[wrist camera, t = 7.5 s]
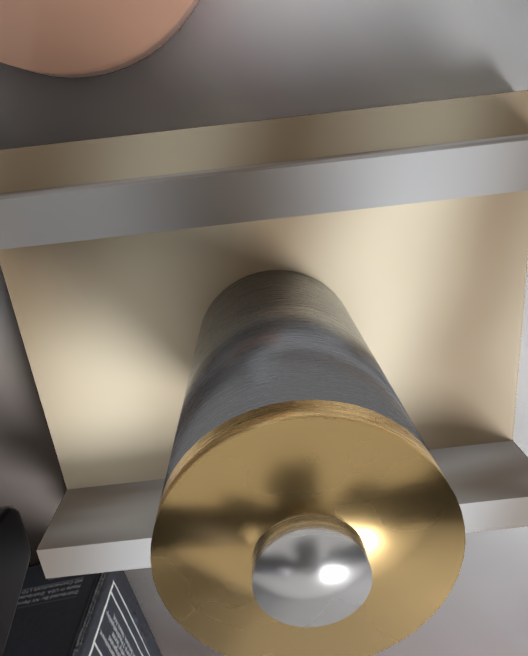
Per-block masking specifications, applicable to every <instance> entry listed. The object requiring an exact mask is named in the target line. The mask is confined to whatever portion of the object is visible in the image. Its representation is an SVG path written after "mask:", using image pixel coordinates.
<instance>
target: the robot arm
mask: <svg viewBox="0 0 528 656" xmlns="http://www.w3.org/2000/svg"><path fill="white" fill-rule="evenodd" d="M30 554H31V548H30V542H29V539H28V537H27V534H26V531H25V528H24V525H23V522H22V519H21V516H20V514H19V511H18V510H17V509H16V508H15V507H13V506H6V507H0V656H2V655H3V652H4V648H5V645H6V642H7V639H8V635H9V632H10V628H11V625H12V621H13V618H14V614H15V610H16V607H17V603H18V600H19V596H20V593H21V589H22V586H23V582H24V578H25V575H26V571H27V568H28V564H29V560H30Z"/></svg>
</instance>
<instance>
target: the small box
mask: <svg viewBox="0 0 528 656" xmlns="http://www.w3.org/2000/svg"><path fill="white" fill-rule="evenodd" d="M2 656H162V655H161V653H160V650H159V648H158V646H157V644H156V641H155V639H154V637H153V635H152V633H151V630H150V628H149V626H148V623H147V621H146V619H145V617H144V615H143V613H142V610H141V608H140V606H139V604H138V602H137V600H136V597H135V595H134V593H133V590H132V588H131V586H130V584H129V582H128V580H127V577H126V575H125V574H124V571H123V570H121V571H112V572H103V573H94V574H84V575H75V576H66V577H57V578H48V579H46V577H45V575H44V572H43V569H42V566H41V564H40V565H35V566H30V567H28V568H27V571H26V575H25V578H24V582H23V586H22V589H21V593H20V596H19V600H18V603H17V607H16V610H15V614H14V618H13V621H12V625H11V628H10V632H9V635H8V639H7V642H6V645H5V648H4V652H3V655H2Z"/></svg>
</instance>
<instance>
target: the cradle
mask: <svg viewBox="0 0 528 656" xmlns="http://www.w3.org/2000/svg"><path fill="white" fill-rule="evenodd" d="M527 260H528V90H524V91H515V92H506V93H498V94H489V95H480V96H471V97H462V98H453V99H445V100H436V101H427V102H418V103H409V104H400V105H392V106H383V107H374V108H365V109H356V110H347V111H339V112H330V113H321V114H312V115H303V116H294V117H286V118H277V119H268V120H259V121H250V122H241V123H233V124H224V125H215V126H206V127H197V128H188V129H179V130H171V131H162V132H153V133H144V134H135V135H126V136H118V137H109V138H100V139H91V140H82V141H73V142H65V143H56V144H47V145H38V146H29V147H20V148H12V149H3V150H0V265H1V269H2V272H3V275H4V279H5V282H6V285H7V289H8V292H9V296H10V299H11V302H12V306H13V309H14V312H15V316H16V319H17V323H18V326H19V329H20V333H21V336H22V339H23V343H24V346H25V349H26V353H27V356H28V360H29V363H30V366H31V370H32V373H33V376H34V380H35V383H36V387H37V390H38V393H39V397H40V400H41V403H42V407H43V410H44V413H45V417H46V420H47V424H48V427H49V430H50V434H51V437H52V440H53V444H54V447H55V450H56V454H57V457H58V461H59V464H60V467H61V471H62V474H63V477H64V481H65V484H66V488H67V491H66V493H65V495H64V497H63V499H62V501H61V503H60V504H59V506H58V508H57V510H56V512H55V514H54V516H53V518H52V520H51V522H50V524H49V526H48V528H47V530H46V532H45V534H44V536H43V538H42V540H41V542H40V544H39V546H38V548H37V550H36V551H37V554H38V557H39V560H40V563H41V566H42V569H43V572H44V575H45V577H46V579H48V578H57V577H66V576H75V575H84V574H94V573H103V572H112V571H121V570H130V569H140V568H149V567H151V562H150V555H151V540H152V535H153V530H154V525H155V521H156V516H157V512H158V508H159V504H160V499H161V495H162V491H163V486H164V482H165V478H166V473H167V469H168V465H169V461H170V456H171V452H172V448H173V443H174V439H175V435H176V431H177V426H178V422H179V418H180V413H181V409H182V405H183V401H184V396H185V392H186V388H187V383H188V379H189V375H190V371H191V366H192V362H193V358H194V353H195V349H196V345H197V341H198V336H199V332H200V328H201V324H202V321H203V318H204V316H205V314H206V312H207V310H208V308H209V306H210V305H211V304H212V302H213V301H214V299H215V298H216V297H217V296H218V295H219V294H220V293H221V292H222V291H223V290H224V289H226V288H227V287H228V286H229V285H231V284H232V283H234V282H235V281H237V280H239V279H241V278H243V277H245V276H247V275H250V274H254V273H257V272H262V271H267V270H289V271H294V272H299V273H302V274H305V275H308V276H311V277H313V278H314V279H316V280H318V281H320V282H322V283H323V284H324V285H326V286H327V287H328V288H330V289H331V290H332V291H333V292H334V293H335V294H336V295H337V297H338V298H339V299H340V300H341V301H342V303H343V305H344V306H345V308H346V310H347V311H348V313H349V315H350V317H351V318H352V320H353V322H354V323H355V325H356V327H357V328H358V330H359V332H360V334H361V335H362V337H363V339H364V340H365V342H366V344H367V346H368V347H369V349H370V351H371V352H372V354H373V356H374V357H375V359H376V361H377V363H378V364H379V366H380V368H381V369H382V371H383V373H384V374H385V376H386V378H387V380H388V381H389V383H390V385H391V386H392V388H393V390H394V391H395V393H396V395H397V397H398V398H399V400H400V402H401V403H402V405H403V407H404V409H405V410H406V412H407V414H408V415H409V417H410V419H411V420H412V422H413V424H414V426H415V427H416V429H417V431H418V432H419V434H420V436H421V437H422V439H423V441H424V443H425V444H426V446H427V448H428V449H429V451H430V453H431V455H432V456H433V458H434V460H435V461H436V463H437V465H438V466H439V468H440V470H441V472H442V473H443V475H444V477H445V478H446V480H447V482H448V483H449V485H450V487H451V489H452V490H453V492H454V494H455V496H456V498H457V501H458V503H459V506H460V508H461V511H462V515H463V520H464V525H465V533H470V532H479V531H489V530H498V529H507V528H516V527H525V526H528V457H527V456H526V455H525V454H524V453H523V451H522V450H521V449H520V448H519V447H518V446H517V445H516V444H515V442H514V441H513V433H514V421H515V408H516V396H517V384H518V371H519V359H520V347H521V334H522V322H523V309H524V297H525V285H526V272H527Z"/></svg>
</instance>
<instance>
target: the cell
mask: <svg viewBox="0 0 528 656" xmlns="http://www.w3.org/2000/svg"><path fill="white" fill-rule="evenodd" d="M464 550H465V525H464V520H463V515H462V511H461V508H460V506H459V503H458V501H457V498H456V496H455V494H454V492H453V490H452V489H451V487H450V485H449V483H448V482H447V480H446V478H445V477H444V475H443V473H442V472H441V470H440V468H439V466H438V465H437V463H436V461H435V460H434V458H433V456H432V455H431V453H430V451H429V449H428V448H427V446H426V444H425V443H424V441H423V439H422V437H421V436H420V434H419V432H418V431H417V429H416V427H415V426H414V424H413V422H412V420H411V419H410V417H409V415H408V414H407V412H406V410H405V409H404V407H403V405H402V403H401V402H400V400H399V398H398V397H397V395H396V393H395V391H394V390H393V388H392V386H391V385H390V383H389V381H388V380H387V378H386V376H385V374H384V373H383V371H382V369H381V368H380V366H379V364H378V363H377V361H376V359H375V357H374V356H373V354H372V352H371V351H370V349H369V347H368V346H367V344H366V342H365V340H364V339H363V337H362V335H361V334H360V332H359V330H358V328H357V327H356V325H355V323H354V322H353V320H352V318H351V317H350V315H349V313H348V311H347V310H346V308H345V306H344V305H343V303H342V301H341V300H340V299H339V298H338V297H337V295H336V294H335V293H334V292H333V291H332V290H331V289H330V288H328V287H327V286H326V285H324V284H323V283H322V282H320V281H318V280H316V279H314V278H313V277H311V276H308V275H305V274H302V273H299V272H294V271H289V270H267V271H262V272H257V273H254V274H250V275H247V276H245V277H243V278H241V279H239V280H237V281H235V282H234V283H232V284H231V285H229V286H228V287H227V288H226V289H224V290H223V291H222V292H221V293H220V294H219V295H218V296H217V297H216V298H215V299H214V301H213V302H212V304H211V305H210V306H209V308H208V310H207V312H206V314H205V316H204V318H203V321H202V324H201V328H200V332H199V336H198V341H197V345H196V349H195V353H194V358H193V362H192V366H191V371H190V375H189V379H188V383H187V388H186V392H185V396H184V401H183V405H182V409H181V413H180V418H179V422H178V426H177V431H176V435H175V439H174V443H173V448H172V452H171V456H170V461H169V465H168V469H167V473H166V478H165V482H164V486H163V491H162V495H161V499H160V504H159V508H158V512H157V516H156V521H155V525H154V530H153V535H152V540H151V555H150V562H151V568H152V575H153V579H154V582H155V585H156V588H157V591H158V593H159V595H160V597H161V599H162V601H163V603H164V605H165V606H166V608H167V609H168V611H169V612H170V613H171V615H172V616H173V617H174V619H175V620H176V621H177V622H178V623H179V624H180V625H181V626H182V627H183V628H184V629H185V630H186V631H187V632H188V633H190V634H191V635H192V636H193V637H195V638H196V639H197V640H199V641H200V642H202V643H203V644H205V645H207V646H208V647H210V648H212V649H213V650H215V651H217V652H219V653H222V654H224V655H226V656H372V655H374V654H376V653H379V652H381V651H383V650H385V649H387V648H389V647H391V646H393V645H394V644H396V643H398V642H400V641H401V640H403V639H405V638H406V637H407V636H409V635H410V634H411V633H413V632H414V631H416V630H417V629H418V628H419V627H421V626H422V625H423V624H424V623H425V622H426V621H427V620H428V619H429V618H430V617H431V616H432V615H433V614H434V613H435V612H436V611H437V609H438V608H439V607H440V606H441V605H442V603H443V602H444V601H445V599H446V597H447V596H448V594H449V593H450V591H451V590H452V588H453V586H454V583H455V581H456V579H457V577H458V575H459V572H460V569H461V565H462V562H463V558H464Z"/></svg>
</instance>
